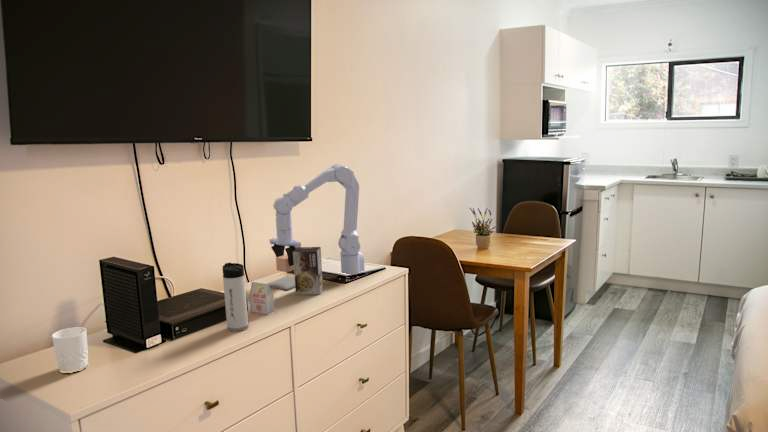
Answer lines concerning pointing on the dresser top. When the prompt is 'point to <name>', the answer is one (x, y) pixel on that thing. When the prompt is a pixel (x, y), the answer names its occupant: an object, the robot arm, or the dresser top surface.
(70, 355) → the white cup
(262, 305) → the white printed carton
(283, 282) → the coaster
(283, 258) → the cube
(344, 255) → the robot arm
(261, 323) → the dresser top surface
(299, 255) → the coffee box
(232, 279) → the travel mug
